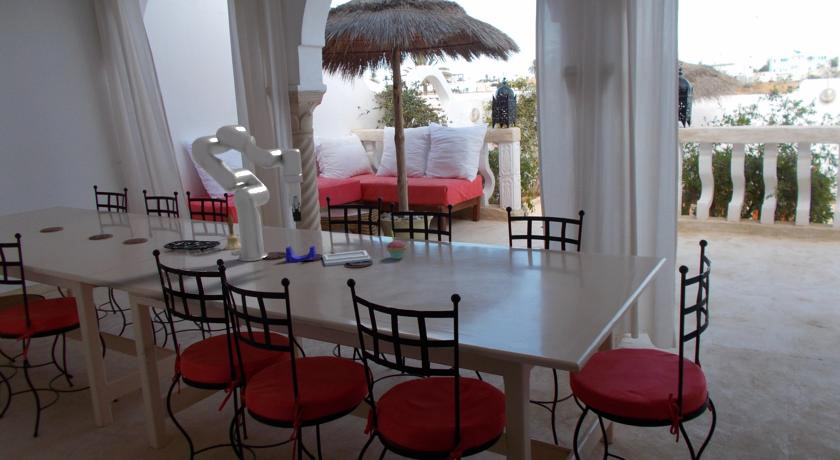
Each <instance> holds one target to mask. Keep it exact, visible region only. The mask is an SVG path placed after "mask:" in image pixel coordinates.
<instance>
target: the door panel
mask: <svg viewBox="0 0 840 460" xmlns="http://www.w3.org/2000/svg"><path fill="white" fill-rule="evenodd" d="M321 255H322V256H321V257H322V260H323V262H324V263H323V264H324V266H325V267H330V266H339V265H347V264H346V263H349V262H357V261H370V262H372V259H371V258H372V257H371V256H370V255H369V252H367V250H366V249H364V250H363V249H362V250H353V251H344V252H336V251H334V250H333V251H330V253H323V254H321Z"/></svg>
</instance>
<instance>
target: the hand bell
mask: <svg viewBox="0 0 840 460" xmlns="http://www.w3.org/2000/svg"><path fill="white" fill-rule="evenodd" d="M227 225H228V229H229V236H228V237H227V243H226V245H225V246H224V249H225V250H228V251H235V250H240V249H241V242H239V239H238V236H237V235H235V232H234V219H233V217H232V215H231V214H228V215H227Z"/></svg>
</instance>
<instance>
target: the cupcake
mask: <svg viewBox="0 0 840 460" xmlns="http://www.w3.org/2000/svg"><path fill="white" fill-rule="evenodd" d="M391 237H392V241H391V242H389V243H388V244H386V250H387V251H388V253H389V255H390V257H391V259H394V260H397V259H398V260H399V259H403V257H404V252H405V251H406V250H407V244H406V243H405V242H404V241H401V240H395V236H394V231H393V230H391Z"/></svg>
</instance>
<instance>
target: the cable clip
mask: <svg viewBox="0 0 840 460" xmlns="http://www.w3.org/2000/svg"><path fill="white" fill-rule="evenodd" d="M316 252H317V251H316V245H310V247H309V252H308V254H307V255H304V256H300V255H297V254H296V253H295V252H294V251H293V249H292V246H286V248H285V263H300V262H301V261H300V260H304V259H310V258H312V259H315V258H316V259H317V254H316ZM299 261H300V262H299Z"/></svg>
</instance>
